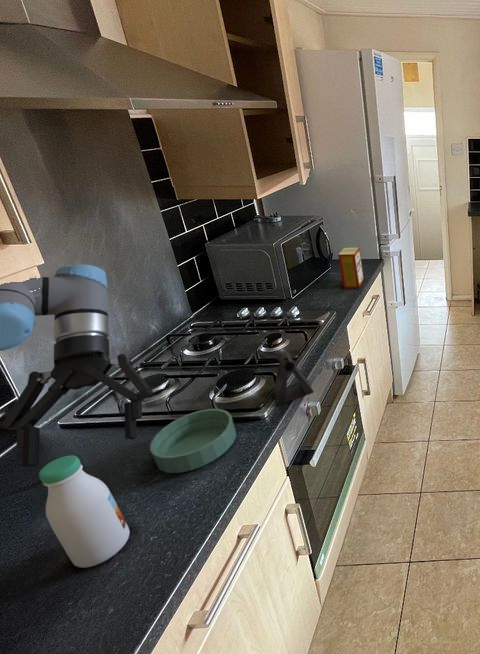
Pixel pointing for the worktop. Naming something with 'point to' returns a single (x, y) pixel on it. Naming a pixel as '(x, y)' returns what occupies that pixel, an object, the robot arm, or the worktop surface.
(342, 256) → the baking soda box
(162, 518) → the worktop surface
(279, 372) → the phone stand
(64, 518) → the milk bottle
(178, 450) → the green jar lid
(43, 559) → the worktop surface
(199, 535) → the worktop surface
